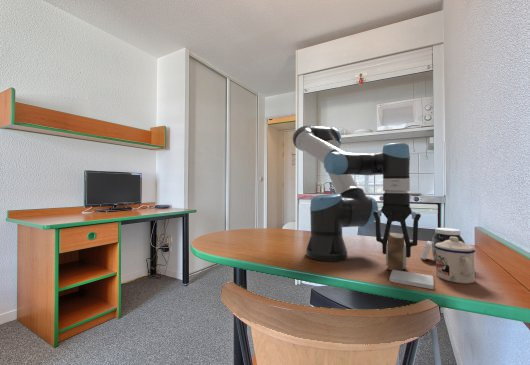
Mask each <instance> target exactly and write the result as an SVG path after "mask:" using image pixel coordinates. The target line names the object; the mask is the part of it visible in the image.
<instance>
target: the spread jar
mask: <svg viewBox="0 0 530 365" xmlns="http://www.w3.org/2000/svg"><path fill="white" fill-rule="evenodd" d="M434 228H435V233H434V235H433V236H432V239H431V241H429V240H427V242H426V245H425V246H424V249H423V252H422V253H421V254H422V255H421V257H420V258H421V259H422V260H425V261H426V259H427V257H428V254H429V252H430V250H431V252H432V258H433V260H434V262H435V263H436V248H435V244H436V243H440V242H443V241H446V240H450V239H449V238H450V237H457V238H458V241H461V242H463V243H465V244H466V242H465V240H464V239H463V237H462V236H461V229H458V228H454V227H453V228H452V227H434Z"/></svg>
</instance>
